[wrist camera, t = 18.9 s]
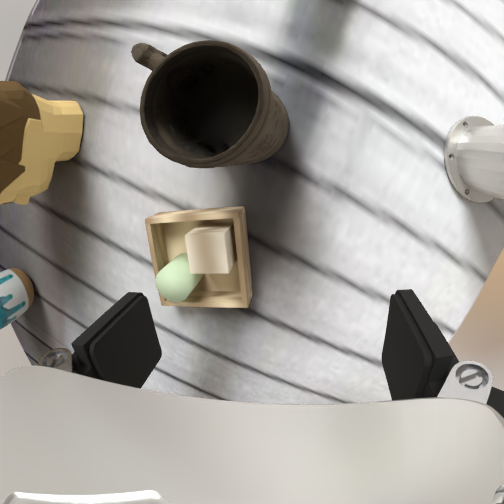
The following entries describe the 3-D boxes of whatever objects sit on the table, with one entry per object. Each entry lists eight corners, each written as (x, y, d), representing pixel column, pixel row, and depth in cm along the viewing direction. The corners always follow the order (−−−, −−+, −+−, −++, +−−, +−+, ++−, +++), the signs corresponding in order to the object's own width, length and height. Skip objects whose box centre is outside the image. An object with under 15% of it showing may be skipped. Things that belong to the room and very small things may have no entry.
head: (29, 211, 45) (-76, 226, 21) (49, 104, 41) (-52, 78, 17) (77, 225, 44) (-46, 249, 19) (101, 102, 40) (-14, 58, 15)
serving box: (244, 206, 40) (238, 212, 36) (252, 293, 44) (247, 307, 40) (158, 212, 43) (144, 219, 39) (172, 293, 47) (161, 305, 43)
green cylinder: (201, 252, 43) (186, 267, 37) (206, 283, 44) (192, 302, 39) (170, 253, 44) (152, 267, 38) (175, 284, 45) (159, 301, 40)
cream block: (235, 221, 41) (224, 233, 35) (238, 256, 42) (228, 273, 36) (200, 223, 41) (184, 235, 36) (204, 257, 43) (190, 273, 37)
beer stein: (310, 116, 35) (300, 68, 16) (263, 182, 39) (210, 199, 20) (215, 62, 35) (138, 1, 16) (175, 124, 39) (76, 106, 20)
